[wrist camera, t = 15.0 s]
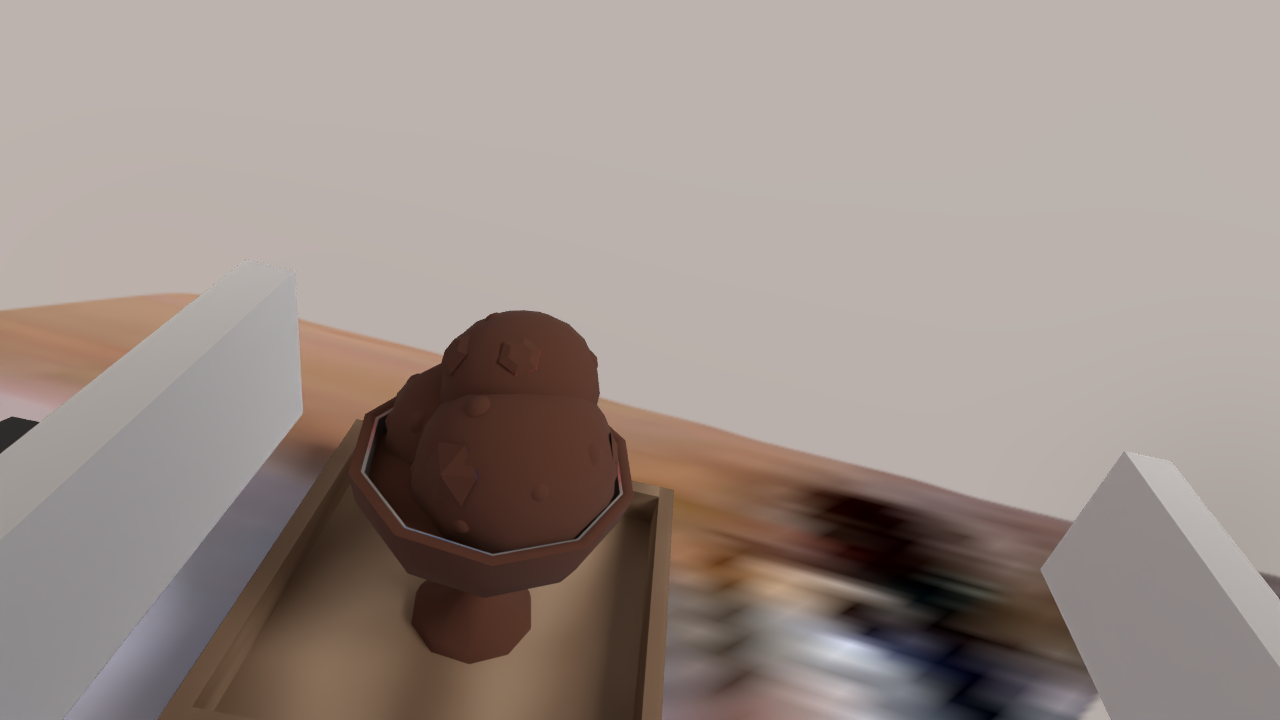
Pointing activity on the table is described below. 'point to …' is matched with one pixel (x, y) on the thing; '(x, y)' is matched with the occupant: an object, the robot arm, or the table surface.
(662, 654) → the light brown wooden tray
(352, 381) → the table surface
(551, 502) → the ice cream bowl
